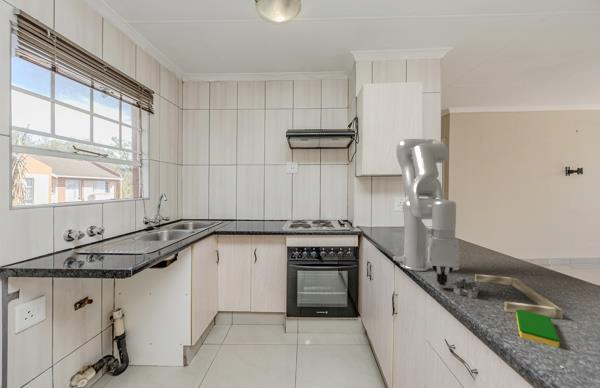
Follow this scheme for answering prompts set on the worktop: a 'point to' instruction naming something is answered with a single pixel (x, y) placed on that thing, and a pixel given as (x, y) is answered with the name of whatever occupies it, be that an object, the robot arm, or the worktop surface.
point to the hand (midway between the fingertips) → (441, 284)
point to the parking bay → (543, 304)
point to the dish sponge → (536, 328)
